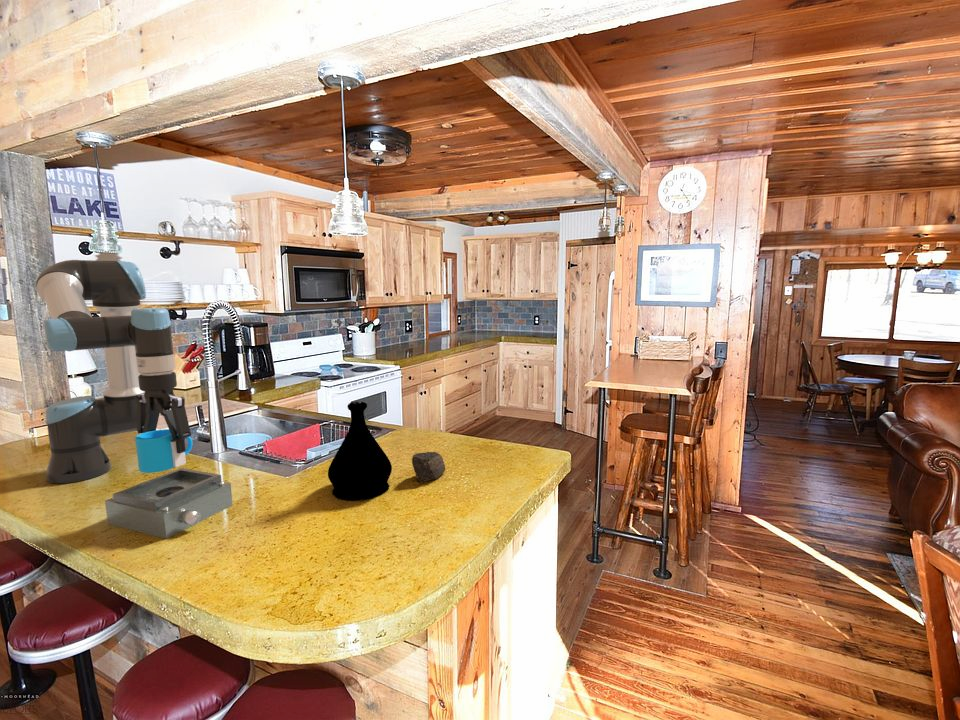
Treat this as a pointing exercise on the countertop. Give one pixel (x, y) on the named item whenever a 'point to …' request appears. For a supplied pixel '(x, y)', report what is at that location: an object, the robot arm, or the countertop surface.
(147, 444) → the mug
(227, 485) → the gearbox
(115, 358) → the robot arm
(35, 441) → the countertop surface
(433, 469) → the rock
